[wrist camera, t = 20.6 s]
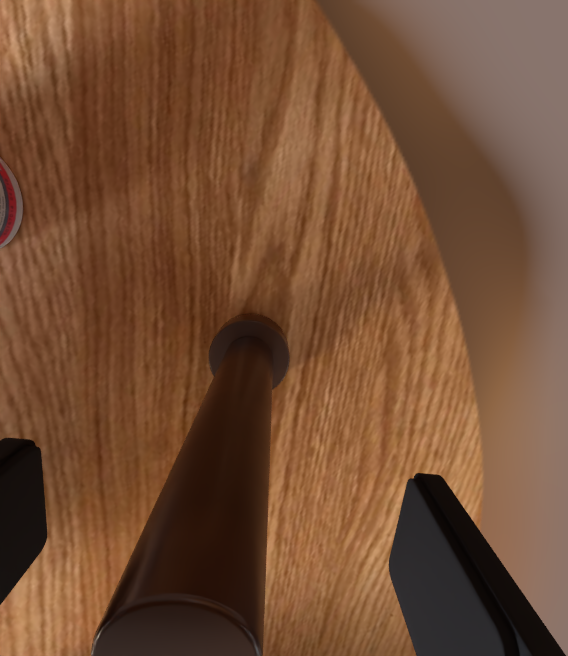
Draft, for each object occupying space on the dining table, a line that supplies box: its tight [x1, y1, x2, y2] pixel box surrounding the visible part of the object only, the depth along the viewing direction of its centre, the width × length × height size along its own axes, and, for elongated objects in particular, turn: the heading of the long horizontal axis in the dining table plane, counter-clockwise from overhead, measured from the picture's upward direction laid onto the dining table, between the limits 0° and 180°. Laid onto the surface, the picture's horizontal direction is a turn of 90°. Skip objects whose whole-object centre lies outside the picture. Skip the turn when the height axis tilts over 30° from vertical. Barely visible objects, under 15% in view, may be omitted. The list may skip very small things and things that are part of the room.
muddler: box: [91, 314, 289, 656], centre depth 11 cm, size 4×4×14 cm
